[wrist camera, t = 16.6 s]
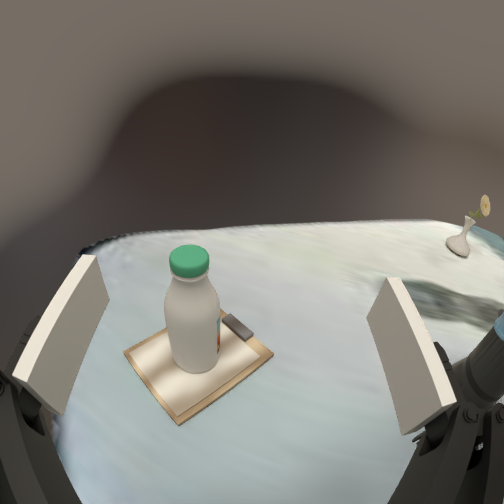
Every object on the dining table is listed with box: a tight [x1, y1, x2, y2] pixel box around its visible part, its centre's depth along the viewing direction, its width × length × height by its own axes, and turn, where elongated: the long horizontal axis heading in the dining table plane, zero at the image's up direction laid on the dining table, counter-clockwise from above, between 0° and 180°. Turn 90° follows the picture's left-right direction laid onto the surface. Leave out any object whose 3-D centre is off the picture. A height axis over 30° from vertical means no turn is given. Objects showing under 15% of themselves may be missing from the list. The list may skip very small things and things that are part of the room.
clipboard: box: [123, 309, 274, 426], centre depth 42 cm, size 16×20×2 cm
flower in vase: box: [446, 195, 490, 256], centre depth 76 cm, size 13×11×25 cm
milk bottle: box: [164, 245, 220, 373], centre depth 36 cm, size 8×8×20 cm
